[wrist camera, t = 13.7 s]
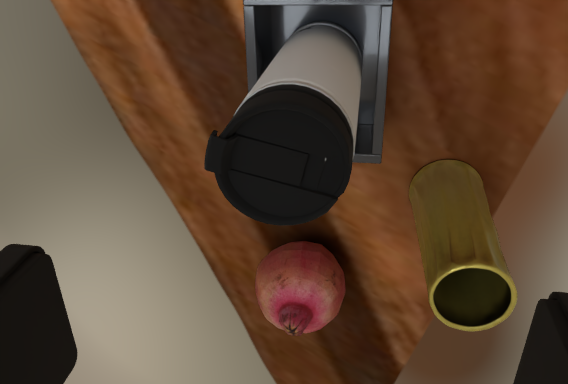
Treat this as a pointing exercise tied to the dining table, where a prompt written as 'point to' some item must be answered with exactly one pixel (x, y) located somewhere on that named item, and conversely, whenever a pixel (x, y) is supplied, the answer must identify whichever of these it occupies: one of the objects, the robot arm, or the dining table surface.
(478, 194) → the vase
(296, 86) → the travel mug
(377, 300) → the dining table surface
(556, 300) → the robot arm
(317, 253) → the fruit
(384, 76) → the dark grey storage box
